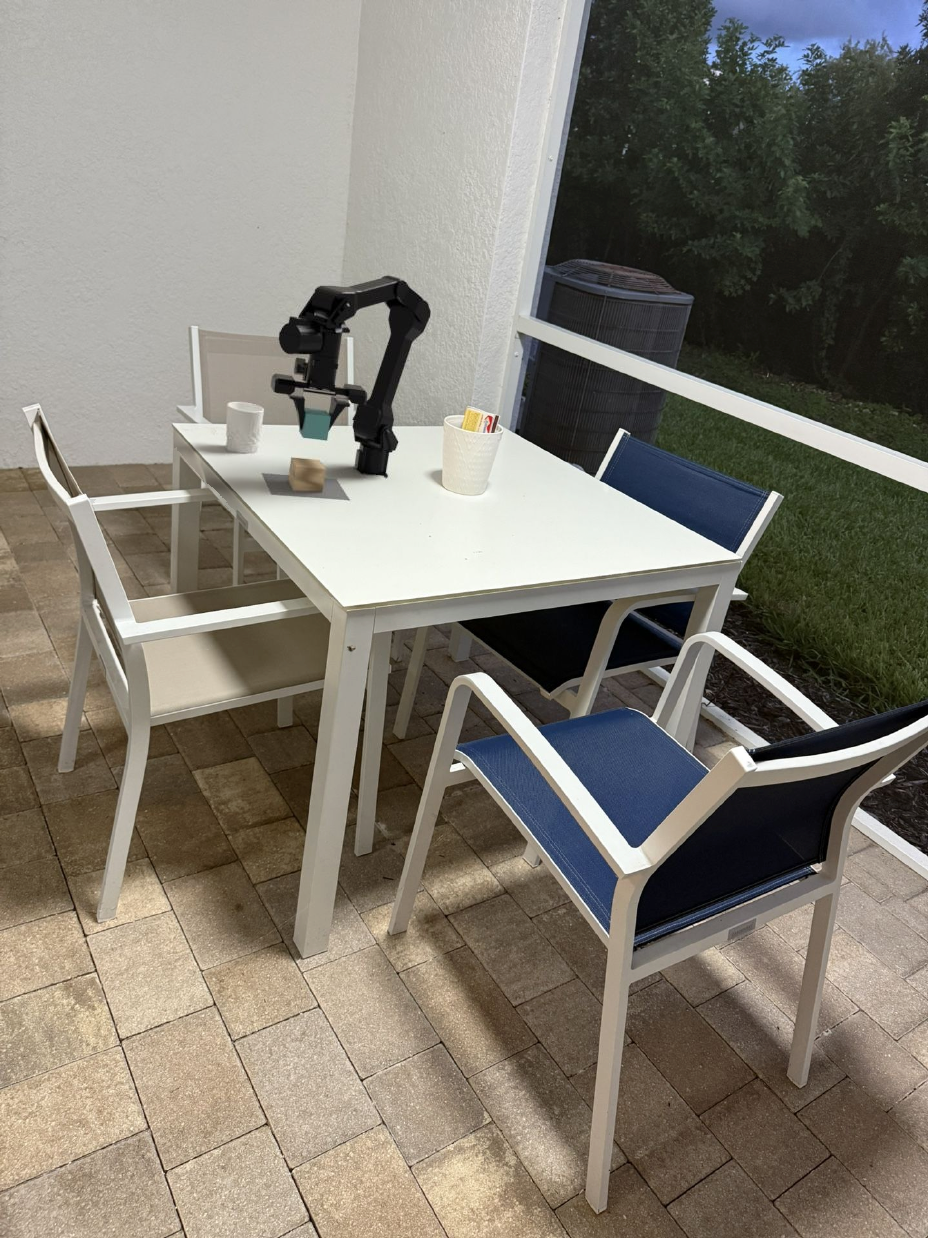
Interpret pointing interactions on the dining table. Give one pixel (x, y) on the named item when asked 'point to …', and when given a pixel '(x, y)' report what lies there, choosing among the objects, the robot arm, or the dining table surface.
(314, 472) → the oak base block
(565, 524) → the dining table surface
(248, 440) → the white cup
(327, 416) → the teal cube
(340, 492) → the build board
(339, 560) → the dining table surface
